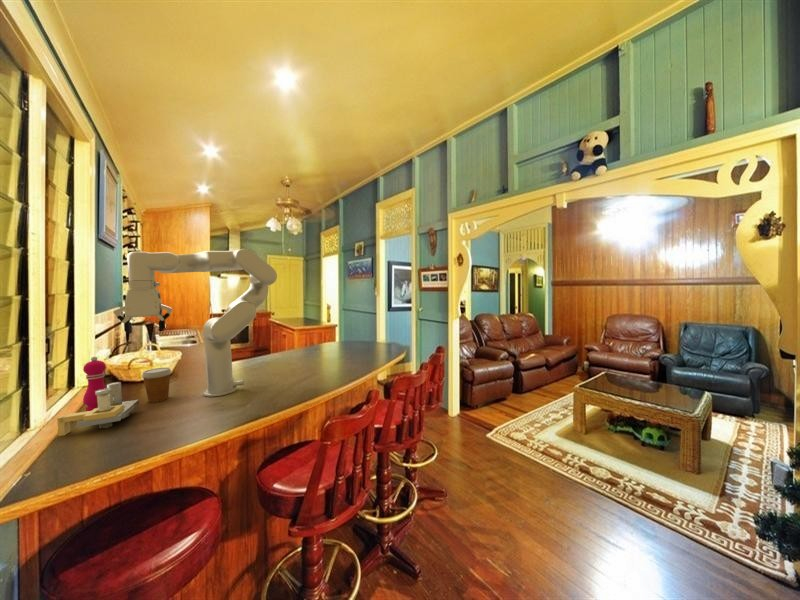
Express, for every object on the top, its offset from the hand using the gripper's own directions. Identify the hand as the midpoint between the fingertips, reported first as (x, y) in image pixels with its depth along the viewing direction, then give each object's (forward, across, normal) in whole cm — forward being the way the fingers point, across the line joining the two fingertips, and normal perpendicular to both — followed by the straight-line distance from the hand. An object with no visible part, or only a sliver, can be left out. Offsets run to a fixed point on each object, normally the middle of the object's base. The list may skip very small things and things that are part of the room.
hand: (145, 332), depth 116 cm
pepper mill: (+28, +18, -8) cm, 35 cm away
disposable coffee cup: (+28, 0, -10) cm, 30 cm away
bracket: (+28, +11, +14) cm, 34 cm away
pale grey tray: (+28, +8, +10) cm, 31 cm away
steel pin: (+28, +8, +14) cm, 33 cm away
